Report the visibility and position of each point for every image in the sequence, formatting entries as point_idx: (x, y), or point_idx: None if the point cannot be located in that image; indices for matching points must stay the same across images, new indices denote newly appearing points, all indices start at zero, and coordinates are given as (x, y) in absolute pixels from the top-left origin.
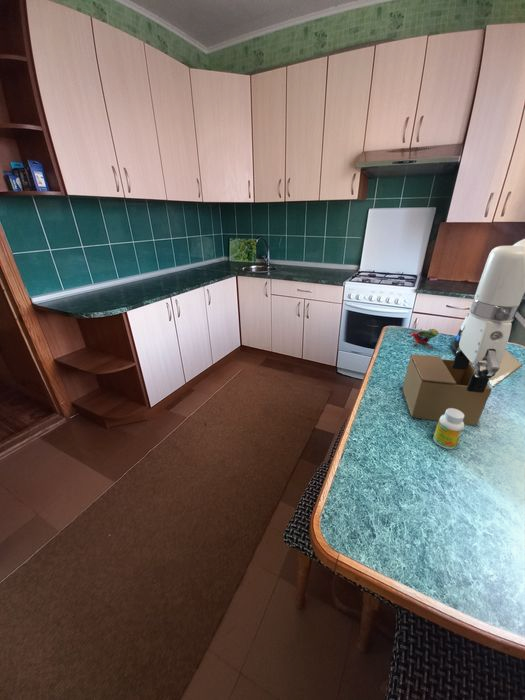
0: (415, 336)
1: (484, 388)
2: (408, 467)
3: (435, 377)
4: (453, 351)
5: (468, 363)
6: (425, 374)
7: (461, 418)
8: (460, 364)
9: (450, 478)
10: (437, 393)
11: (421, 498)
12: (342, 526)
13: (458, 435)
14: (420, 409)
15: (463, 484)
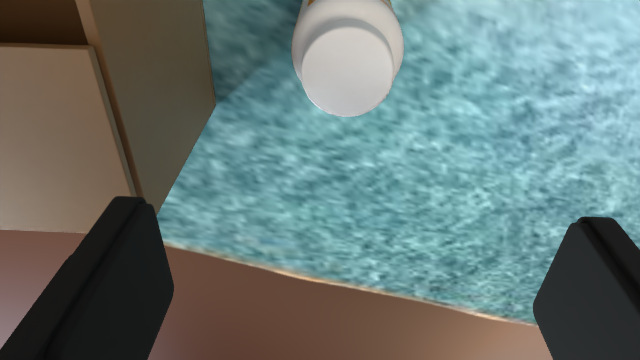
0: None
1: (636, 255)
2: (482, 169)
3: (79, 165)
4: None
5: (116, 263)
6: (69, 208)
7: (391, 55)
8: (144, 299)
9: (535, 55)
10: (155, 100)
11: (597, 161)
12: None
13: (394, 12)
14: (201, 102)
15: (566, 17)
